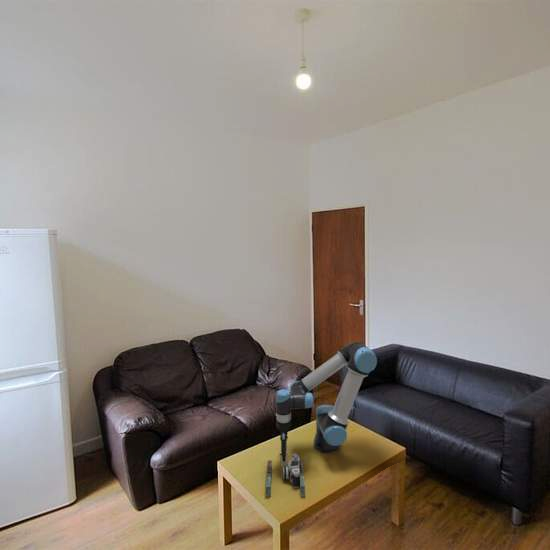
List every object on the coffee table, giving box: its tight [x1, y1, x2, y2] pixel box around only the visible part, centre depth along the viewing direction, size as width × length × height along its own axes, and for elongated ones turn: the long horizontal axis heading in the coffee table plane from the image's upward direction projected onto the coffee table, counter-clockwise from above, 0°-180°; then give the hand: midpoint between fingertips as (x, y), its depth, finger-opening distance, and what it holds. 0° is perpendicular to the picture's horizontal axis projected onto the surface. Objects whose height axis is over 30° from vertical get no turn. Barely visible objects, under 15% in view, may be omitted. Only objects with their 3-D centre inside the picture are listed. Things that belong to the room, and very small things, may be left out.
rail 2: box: [299, 459, 306, 497], centre depth 177 cm, size 2×20×5 cm, turn 179°
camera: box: [282, 453, 301, 489], centre depth 181 cm, size 16×9×10 cm, turn 179°
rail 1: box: [265, 459, 273, 498], centre depth 177 cm, size 2×20×5 cm, turn 179°
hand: (284, 458), depth 191 cm, fingers open, 13 cm apart
